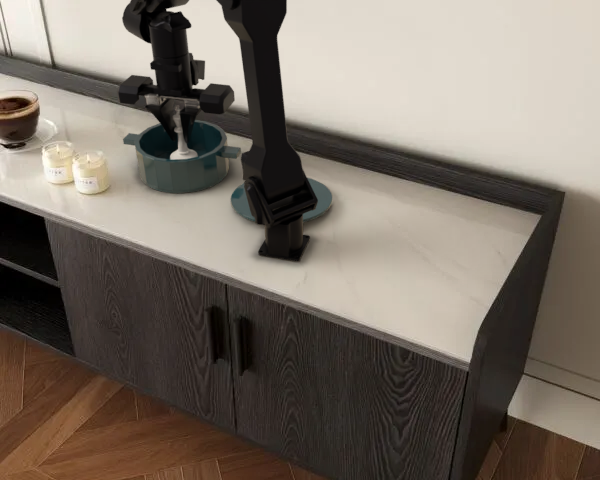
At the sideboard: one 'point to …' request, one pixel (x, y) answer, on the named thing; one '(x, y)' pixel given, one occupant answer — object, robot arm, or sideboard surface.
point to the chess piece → (181, 140)
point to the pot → (182, 172)
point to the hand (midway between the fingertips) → (181, 141)
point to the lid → (324, 203)
